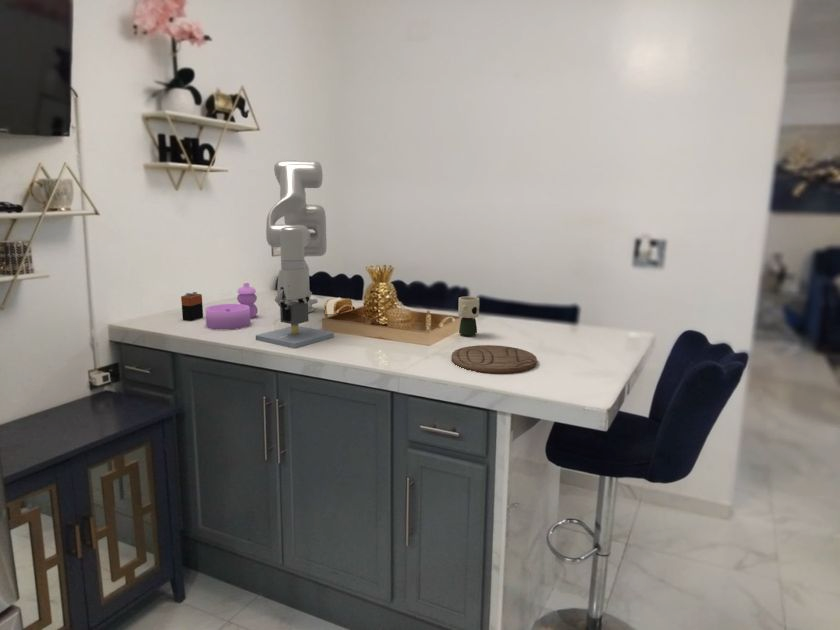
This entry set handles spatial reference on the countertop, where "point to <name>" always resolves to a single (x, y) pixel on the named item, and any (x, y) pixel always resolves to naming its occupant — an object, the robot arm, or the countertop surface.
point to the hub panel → (294, 336)
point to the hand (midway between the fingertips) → (294, 318)
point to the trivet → (494, 359)
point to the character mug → (468, 315)
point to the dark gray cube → (297, 313)
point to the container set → (233, 311)
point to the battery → (192, 306)
